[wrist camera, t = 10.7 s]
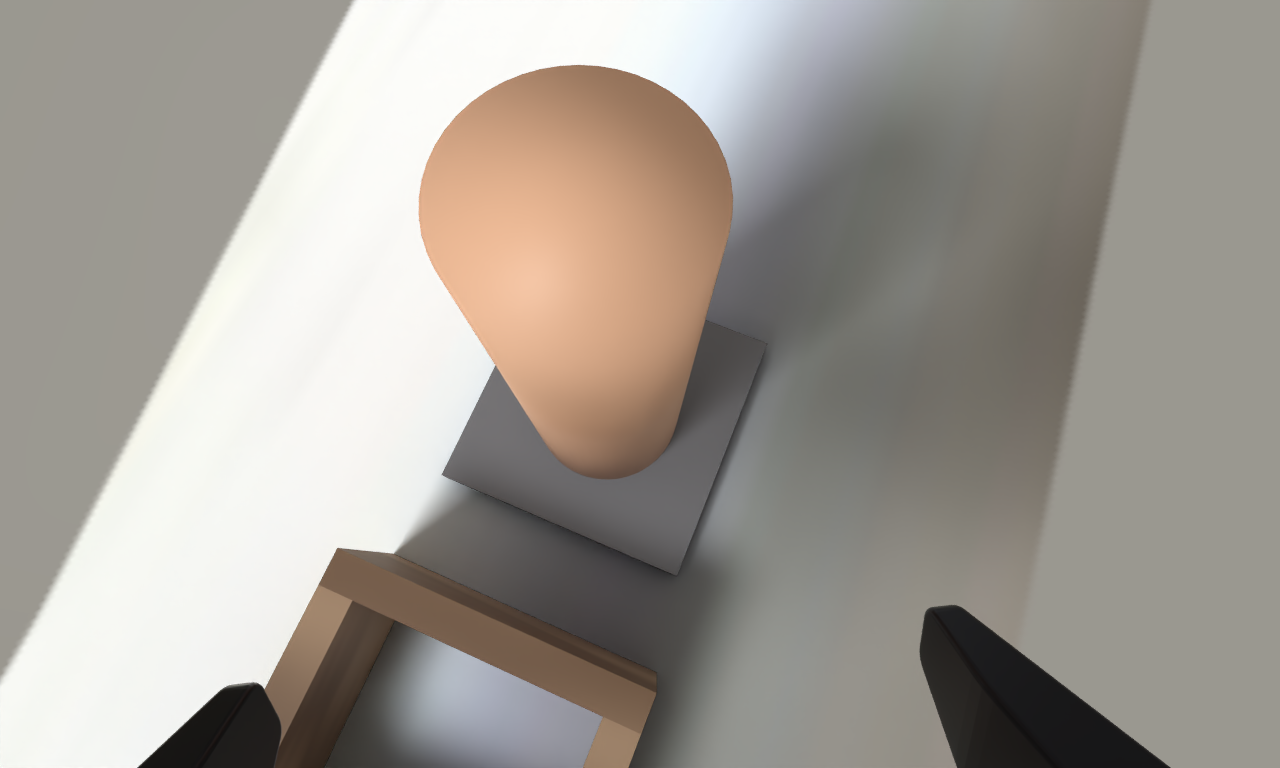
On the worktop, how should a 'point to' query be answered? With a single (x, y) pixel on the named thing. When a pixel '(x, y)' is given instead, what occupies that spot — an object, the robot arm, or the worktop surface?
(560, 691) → the socket block
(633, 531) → the mat
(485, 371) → the worktop surface
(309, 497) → the worktop surface
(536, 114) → the peg
